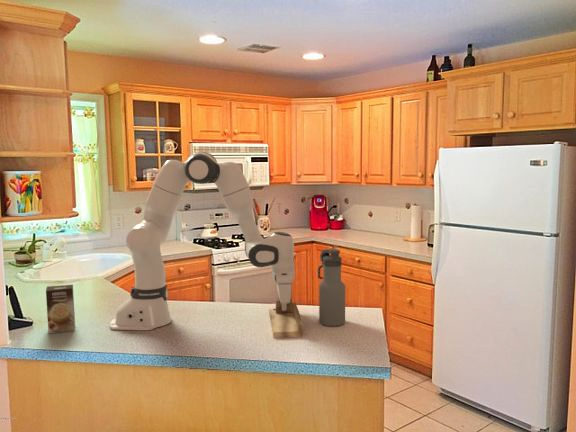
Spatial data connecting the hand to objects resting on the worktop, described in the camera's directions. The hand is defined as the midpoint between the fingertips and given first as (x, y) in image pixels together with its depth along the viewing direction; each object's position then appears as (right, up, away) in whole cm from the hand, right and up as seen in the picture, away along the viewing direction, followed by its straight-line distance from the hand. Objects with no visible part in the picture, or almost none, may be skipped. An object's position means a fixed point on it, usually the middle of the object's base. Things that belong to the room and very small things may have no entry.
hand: (283, 308), depth 195 cm
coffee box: (-82, -6, -11) cm, 83 cm away
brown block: (0, -1, 0) cm, 2 cm away
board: (0, -5, -8) cm, 10 cm away
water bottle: (+18, -4, -7) cm, 20 cm away
